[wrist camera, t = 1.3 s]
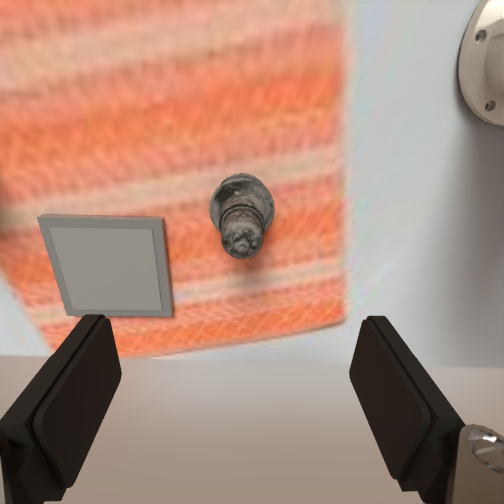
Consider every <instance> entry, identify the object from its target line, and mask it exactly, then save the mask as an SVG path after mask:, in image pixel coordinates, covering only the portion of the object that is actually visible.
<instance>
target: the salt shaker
mask: <svg viewBox="0 0 504 504" xmlns="http://www.w3.org/2000/svg"><path fill="white" fill-rule="evenodd" d="M209 212H210V217H211V220H212V222H213V224H214V226H215V227H216V229H217V230H218V231H219V232H220V233H221V235H222V245H223V247H224V249H225V251H226V252H227V253H228V254H229V255H231V256H232V257H235V258H238V259H246V258H250V257H253V256H254V255H256V254H257V253H258V252H259V250H260V248H261V246H262V243H263V234H264V232H265V231H266V230H267V229H268V227H269V226H270V225H271V222H272V220H273V218H274V212H275V208H274V201H273V198H272V196H271V194H270V192H269V191H268V190H267V188H266V187H265V186H264V185H263V184H262V182H261V181H260V180H259V179H257V178H256V177H254V176H252V175H249V174H243V173H240V174H234V175H232V176H230V177H228V178H226V179H225V180H224V181H223V182H222V183H221V185H220V186H219V187H218V188H217V189H216V191H215V192H214V194H213V195H212V198H211V201H210V208H209Z"/></svg>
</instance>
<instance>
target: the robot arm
mask: <svg viewBox="0 0 504 504" xmlns="http://www.w3.org/2000/svg"><path fill="white" fill-rule="evenodd" d="M459 82H460V88H461V92H462V94H463V97H464V99H465V102H466V104H467V105H468V106H469V108H470V109H471V111H472V112H473V113H474V114H475V115H477V116H478V117H479V118H480V119H482V120H484V121H486V122H488V123H490V124H493V125H500V126H504V0H481V1H480V3H479V4H478V6H477V8H476V10H475V12H474V14H473V16H472V18H471V20H470V22H469V24H468V27H467V30H466V33H465V36H464V39H463V42H462V46H461V52H460V57H459ZM121 375H122V372H121V367H120V362H119V358H118V353H117V349H116V344H115V340H114V335H113V331H112V327H111V322H110V319H108V318H105V316H104V315H103V314H86V315H84V316H83V317H82V319H81V320H80V321H79V322H78V324H77V325H76V326H75V327H74V329H73V330H72V331H71V333H70V334H69V335H68V336H67V338H66V339H65V340H64V342H63V343H62V344H61V345H60V347H59V348H58V349H57V351H56V352H55V353H54V354H53V355H52V356H51V357H50V358H49V359H48V360H47V361H46V363H45V364H44V365H43V366H42V368H41V369H40V370H39V372H38V373H37V374H36V375H35V377H34V378H33V379H32V380H31V382H30V383H29V384H28V386H27V387H26V388H25V389H24V391H23V392H22V393H21V394H20V396H19V397H18V398H17V399H16V401H15V402H14V403H13V405H12V406H11V407H10V408H9V410H8V411H7V412H6V414H5V415H4V416H3V417H2V418H1V420H0V504H43V503H44V501H61V500H62V498H63V495H64V493H65V491H66V489H67V488H70V487H71V486H73V484H74V483H75V481H76V479H77V476H78V474H79V472H80V470H81V467H82V465H83V463H84V461H85V459H86V456H87V454H88V452H89V450H90V447H91V445H92V443H93V441H94V438H95V436H96V434H97V432H98V430H99V427H100V425H101V423H102V421H103V419H104V416H105V414H106V412H107V410H108V407H109V405H110V403H111V401H112V399H113V396H114V394H115V392H116V390H117V387H118V385H119V383H120V380H121ZM349 375H350V380H351V383H352V385H353V387H354V390H355V392H356V394H357V397H358V399H359V401H360V404H361V406H362V409H363V411H364V413H365V416H366V418H367V420H368V423H369V425H370V428H371V430H372V432H373V435H374V437H375V440H376V442H377V444H378V447H379V449H380V452H381V454H382V456H383V459H384V461H385V463H386V466H387V468H388V471H389V473H390V475H391V476H392V478H393V479H397V481H398V483H399V485H400V487H401V490H402V491H403V492H405V491H418V493H419V495H420V497H421V500H422V501H423V504H504V437H503V436H502V435H500V434H498V433H497V432H495V431H493V430H491V429H489V428H486V427H484V426H480V425H475V424H472V425H465V424H464V422H463V421H462V420H461V418H460V417H459V415H458V414H457V413H456V411H455V410H454V408H453V407H452V406H451V404H450V403H449V402H448V401H447V399H446V398H445V396H444V395H443V393H442V392H441V391H440V389H439V388H438V387H437V385H436V384H435V383H434V381H433V380H432V379H431V377H430V376H429V374H428V373H427V372H426V370H425V369H424V368H423V366H422V365H421V363H420V362H419V361H418V359H417V358H416V357H415V356H414V354H413V353H412V352H411V350H410V349H409V348H408V346H407V345H406V344H405V342H404V341H403V339H402V338H401V337H400V335H399V334H398V333H397V331H396V330H395V328H394V327H393V326H392V324H391V323H390V322H389V320H388V319H387V318H386V317H385V316H368V317H367V319H366V320H363V321H362V324H361V328H360V332H359V336H358V340H357V344H356V347H355V351H354V355H353V359H352V363H351V367H350V371H349Z"/></svg>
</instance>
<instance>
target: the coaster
mask: <svg viewBox="0 0 504 504" xmlns="http://www.w3.org/2000/svg"><path fill="white" fill-rule="evenodd" d="M37 219H38V223H39V226H40V229H41V232H42V236H43V239H44V242H45V245H46V248H47V252H48V255H49V258H50V261H51V265H52V268H53V271H54V274H55V278H56V281H57V284H58V287H59V291H60V294H61V297H62V300H63V304H64V307H65V310H66V313H67V316H84V315H86V314H103V315H104V316H155V317H172V314H173V312H174V311H173V301H172V291H171V282H170V272H169V262H168V253H167V243H166V233H165V224H164V217H143V216H102V215H61V214H42V215H40V216H38V217H37Z"/></svg>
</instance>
